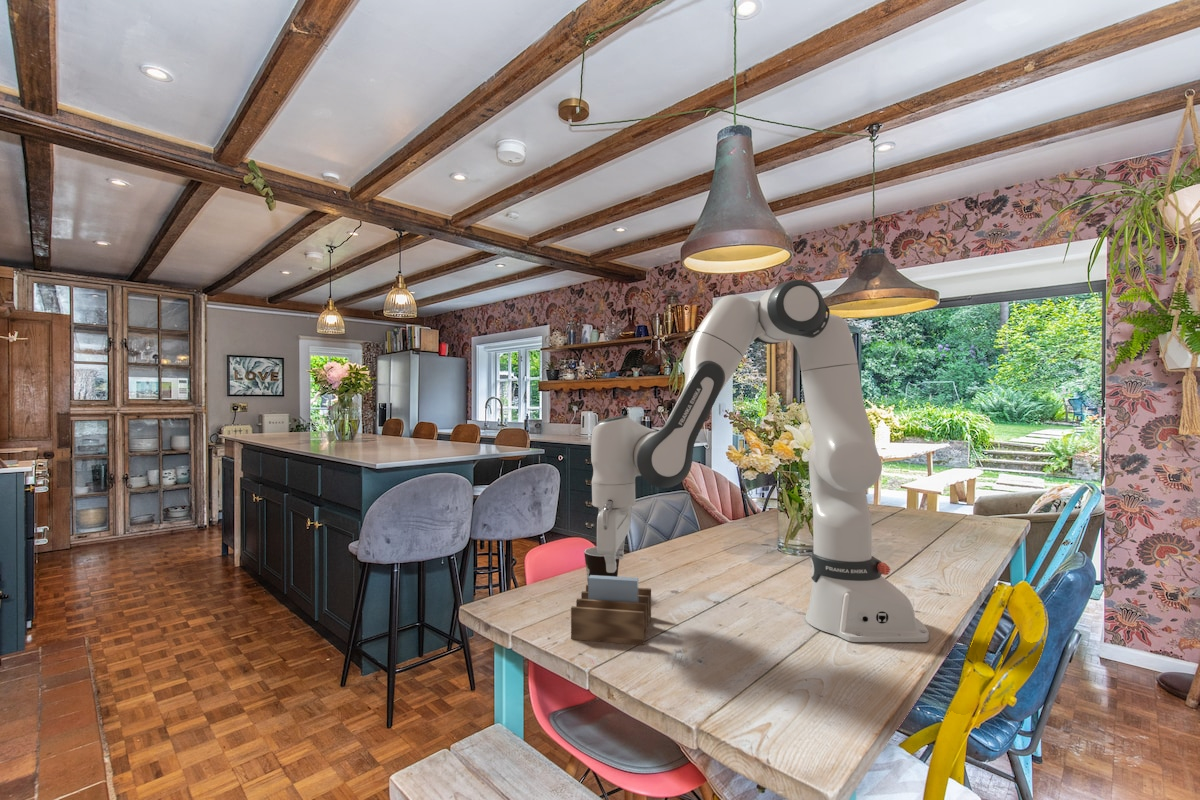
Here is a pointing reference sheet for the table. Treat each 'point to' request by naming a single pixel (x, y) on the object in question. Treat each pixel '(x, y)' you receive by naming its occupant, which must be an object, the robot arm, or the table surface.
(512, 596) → the table surface
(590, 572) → the coffee mug
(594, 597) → the upright grey-blue slab
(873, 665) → the table surface
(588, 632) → the walnut rack
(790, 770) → the table surface
